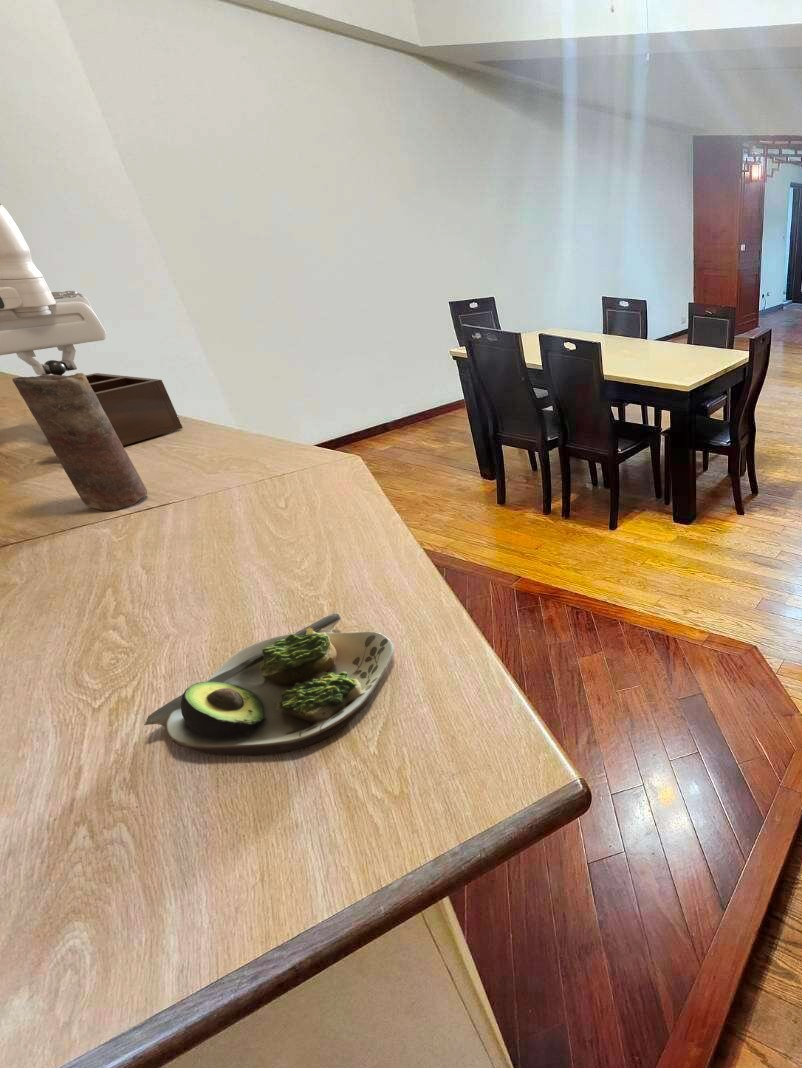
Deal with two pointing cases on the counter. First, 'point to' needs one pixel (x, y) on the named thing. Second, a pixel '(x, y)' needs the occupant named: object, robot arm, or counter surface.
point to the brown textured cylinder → (82, 439)
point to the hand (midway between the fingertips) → (57, 372)
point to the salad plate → (280, 693)
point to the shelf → (131, 404)
